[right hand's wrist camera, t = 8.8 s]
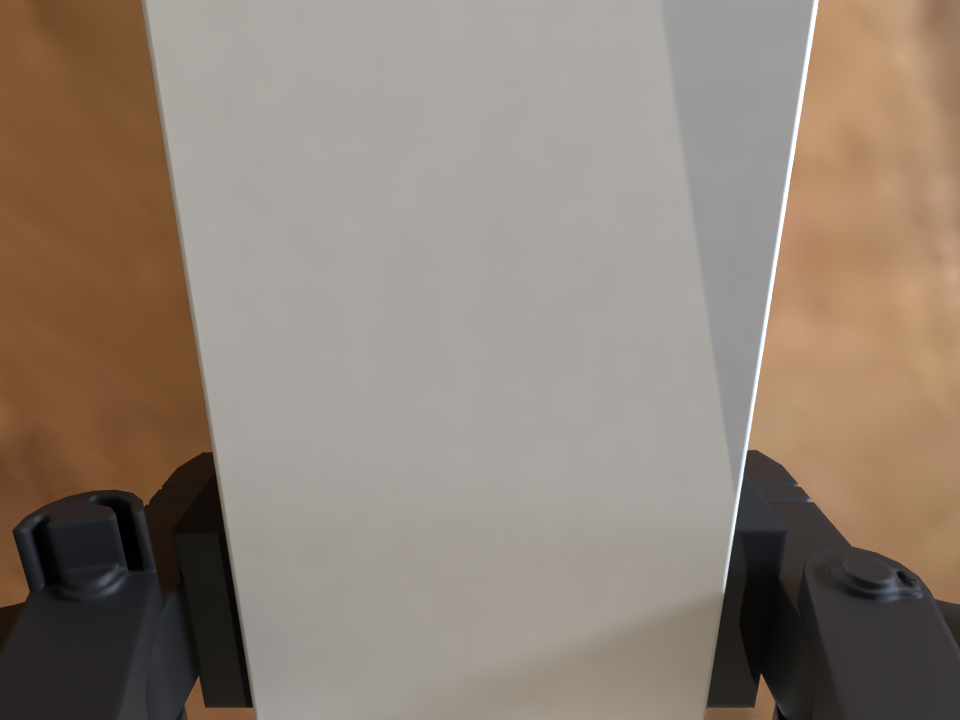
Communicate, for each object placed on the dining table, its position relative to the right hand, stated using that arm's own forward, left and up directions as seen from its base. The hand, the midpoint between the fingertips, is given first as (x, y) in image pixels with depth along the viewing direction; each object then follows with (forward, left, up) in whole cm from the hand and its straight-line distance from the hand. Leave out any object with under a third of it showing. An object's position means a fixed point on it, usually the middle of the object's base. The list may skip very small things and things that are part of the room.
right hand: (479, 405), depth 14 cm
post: (-3, -29, -1) cm, 29 cm away
